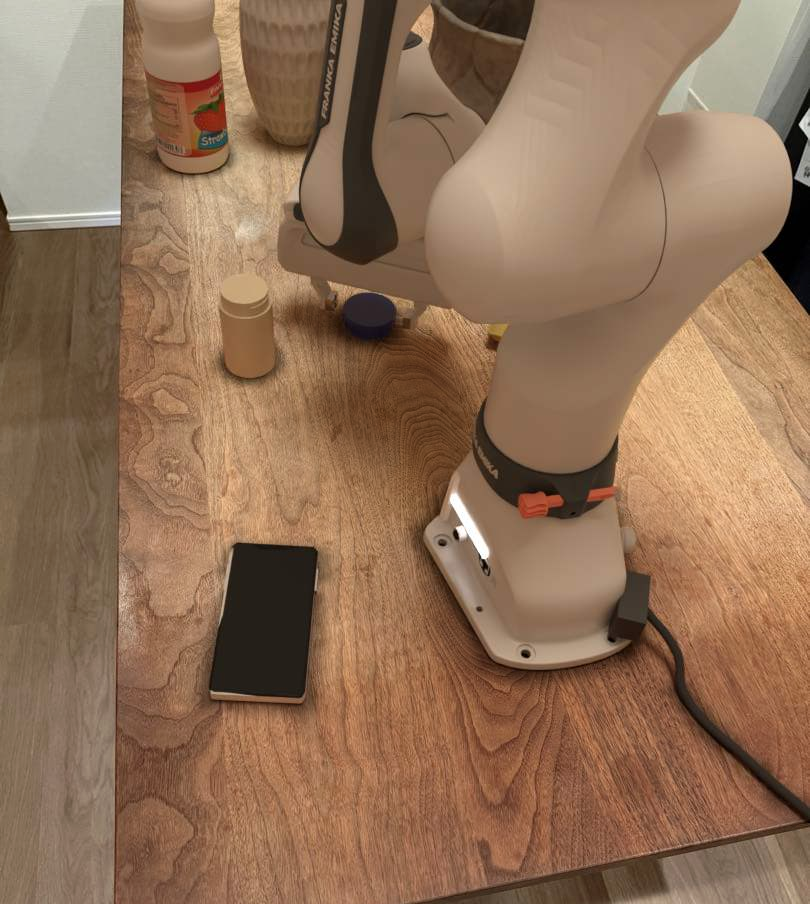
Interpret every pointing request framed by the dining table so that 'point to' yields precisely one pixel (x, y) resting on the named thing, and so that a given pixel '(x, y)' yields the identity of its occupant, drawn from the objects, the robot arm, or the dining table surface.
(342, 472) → the dining table surface
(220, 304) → the jar
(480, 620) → the robot arm
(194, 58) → the fruit juice
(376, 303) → the lid
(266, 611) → the smartphone
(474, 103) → the pot
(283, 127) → the vase
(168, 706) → the dining table surface
